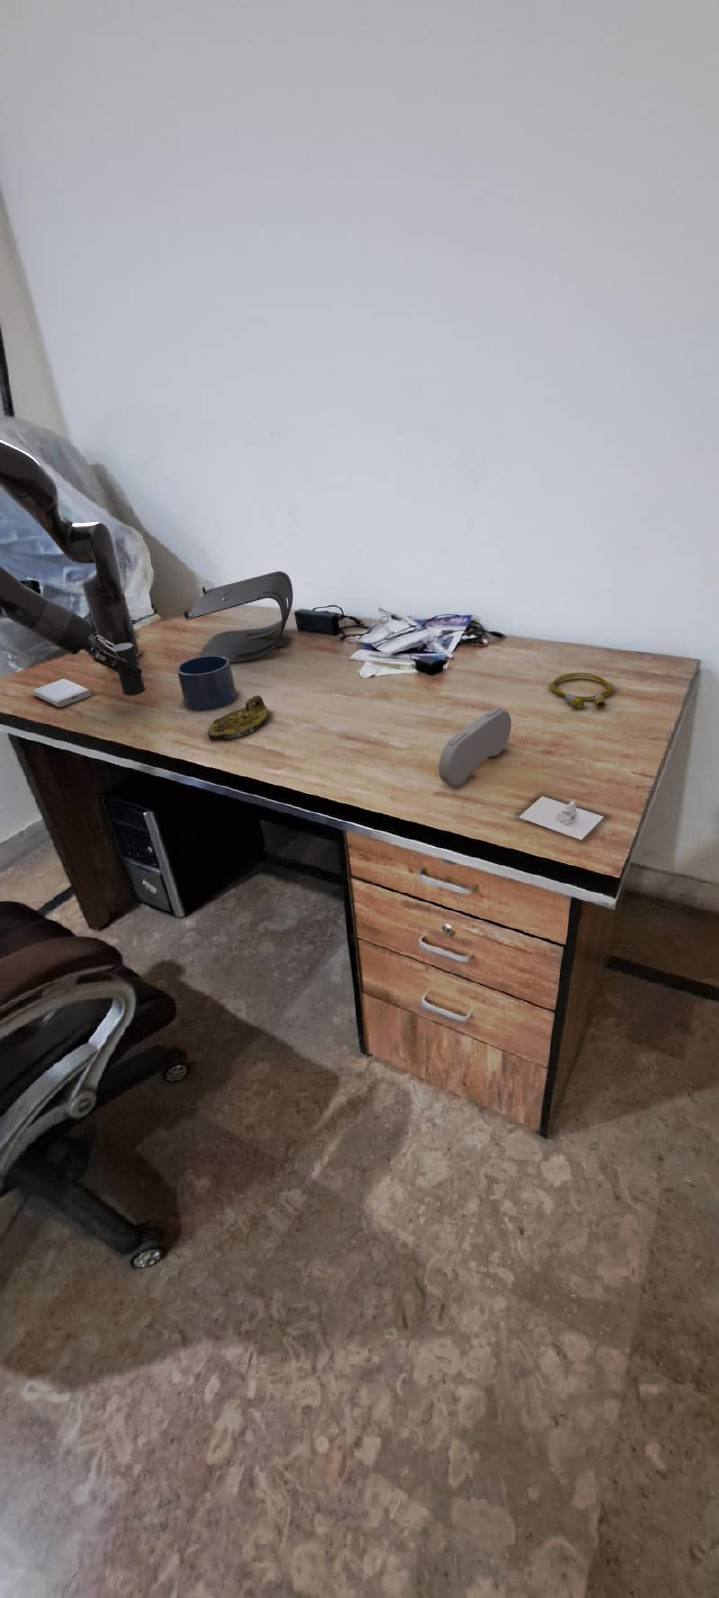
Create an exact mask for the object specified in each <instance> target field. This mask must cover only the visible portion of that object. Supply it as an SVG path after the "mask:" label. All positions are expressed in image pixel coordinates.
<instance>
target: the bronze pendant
mask: <svg viewBox="0 0 719 1598" xmlns="http://www.w3.org/2000/svg"><path fill="white" fill-rule="evenodd" d="M268 720H269V711H268V707H267V705H266V704H265V702H264V700H263V698H262V696H261V695H259V694H258V695H254V696H252V697H250V698H248V699H247V700H246V702H245V707H244V708H240V709H236V710H234V711H231V712H229V713H227V714H225V715H223V716H221V717H219V718H216V719H214V720H213V721H212V724H211V725H210V727H209V729H208V732H207V733H208V738H209V739H210V740H214V739H223V740H233V739H238V738H241V737H245V736H247V735H250V734H252V733H253V732H255V731H256V730H257V729H259V728H260V727H262V726H263V725H264V724H265V723H266V722H267V721H268Z"/></svg>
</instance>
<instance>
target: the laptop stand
mask: <svg viewBox="0 0 719 1598" xmlns="http://www.w3.org/2000/svg"><path fill="white" fill-rule="evenodd" d="M293 590H294V589H293V583H292V581H291V578H290V576H289V575H288V574H287V573H286V572H284V571H282V570H281V571H280V570H279V571H278V570H277V571H273V572H270V573H266V574H263V575H258V576H255V577H251V578H246V579H242V580H239V581H235V582H231V583H228V584H224V585H219V586H217V587H212V588H209V589H206V587H205V586H202V588H201V591H202V593H203V594H202V595H201V596H200V598H199V599H198V601H197V602H196V604H194V606H193V607H192V608H191V610H190V612H189V613H188V610H187V609H185V610H184V611H183V616H184V618H185V620H186V621H189V620H192V619H196V618H200V617H203V616H206V615H210V614H214V613H217V612H222V611H225V610H229V609H231V608H232V609H233V608H236V607H239V606H244V605H247V604H250V603H254V602H258V601H261V600H265V599H271V600H273V601H275V602H276V603H277V605H278V606H279V610H280V614H281V620H280V621H277V622H276V623H275V624H274V623H273V624H272V625H269V626H266V627H261V628H255V629H244V630H233V631H224V632H221V633H218V634H217V635H215V636H214V637H213V638H212V639H211V640H210V642H209V643H208V644H207V645H206V647H205V649H204V651H203V653H202V656H210V655H218V656H224V657H226V658H228V659H229V660H230V664H239V663H240V664H241V663H246V662H250V661H255V660H257V659H260V658H263V657H265V656H266V655H269V654H270V653H272V652H273V651H274V650H275V649H282V648H286V647H288V646H289V644H290V637H288V636H287V637H283V635H284V631H285V628H286V625H287V622H288V619H289V616H290V613H291V610H292V606H293V602H294V591H293ZM278 631H279V633H278V635H277V636H276V637H269V636H272V635H273V634H275V633H277V632H278ZM266 637H269V638H266Z"/></svg>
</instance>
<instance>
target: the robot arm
mask: <svg viewBox="0 0 719 1598" xmlns="http://www.w3.org/2000/svg"><path fill="white" fill-rule="evenodd" d="M0 488H1V489H2V490H3V492H5V493H6V495H7V496H9V497H10V498H11V499H12V500H13V501H14V502H15V503H16V504H17V505H18V506H19V507H20V508H21V509H23V511H25V512H26V513H27V514H28V515H29V516H30V517H31V518H32V520H34V521H35V522H36V523H37V524H38V525H39V526H40V528H41V529H42V530H44V531H45V533H46V534H47V535H48V536H49V537H50V539H51V540H52V541H53V542H54V544H55V545H56V546H57V547H58V548H59V549H60V551H61V552H62V553H63V554H64V555H65V556H66V557H67V558H68V559H69V560H70V561H71V562H73V563H76V564H79V565H92V564H94V565H95V566H94V567H95V574H94V575H93V576H91V577H89V578H87V579H85V580H83V582H82V585H81V586H82V589H83V593H84V596H85V597H84V598H85V600H86V603H87V605H88V609H89V613H90V616H91V619H92V622H91V621H89V620H87V619H86V618H84V617H82V616H81V615H79V614H77V613H76V612H74V611H72V610H71V609H68V608H67V607H65V606H63V605H62V604H60V603H58V602H56V601H53V600H51V599H49V598H47V597H45V596H44V595H42V594H40V593H38V592H37V591H35V590H33V589H32V588H30V587H28V586H26V585H25V584H23V583H22V582H21V581H20V580H19V579H18V578H16V577H15V576H14V575H13V574H12V573H11V572H9V571H8V570H7V569H5V568H4V567H3V566H1V565H0V609H1V611H2V613H3V615H4V616H5V617H6V618H7V619H9V620H11V621H12V622H13V623H16V624H17V625H19V626H21V627H22V628H25V629H26V630H29V631H30V632H32V633H33V634H35V635H36V636H38V637H39V638H41V639H43V640H44V641H46V642H48V643H50V644H52V645H54V646H56V647H57V648H59V649H60V650H63V651H65V652H67V653H68V654H70V655H72V656H76V655H77V654H79V653H80V652H81V650H84V651H85V652H86V653H87V655H88V656H89V657H90V658H92V660H93V662H95V663H98V664H100V665H102V666H104V667H106V668H109V669H110V670H113V671H115V672H116V673H117V672H120V671H121V670H122V671H123V672H125V673H127V674H129V675H131V676H132V677H134V678H136V679H138V678H139V677H140V675H142V674H143V669H142V668H141V667H140V666H139V667H137V666H135V665H133V664H132V663H130V662H128V661H126V659H124V658H122V657H121V656H119V655H118V653H117V651H116V650H114V649H113V648H112V647H113V646H115V645H118V644H122V643H131V644H133V646H134V649H135V653H136V657H137V658H138V657H139V656H140V655H141V649H140V646H139V643H138V639H137V636H136V632H135V628H134V623H135V622H137V621H138V620H132V617H131V612H130V610H129V606H128V602H127V598H126V594H125V591H124V588H123V584H122V572H121V566H120V563H119V557H118V554H117V548H116V544H115V540H114V537H113V535H112V531H110V529H109V527H108V526H107V525H106V524H105V523H103V522H99V521H95V522H75V521H72V520H71V519H69V518H68V517H67V516H66V514H65V513H64V512H62V510H61V505H60V504H61V502H60V492H59V488H58V486H57V483H56V482H55V479H54V478H52V476H51V475H50V474H49V473H48V472H47V470H45V468H44V467H43V466H42V465H41V464H40V462H38V461H37V460H36V459H35V458H34V457H33V456H31V455H30V454H29V453H27V452H25V451H23V450H21V449H19V448H17V447H15V446H13V445H11V444H9V443H7V442H5V441H3V440H1V439H0ZM151 602H152V606H151V607H153V608H154V609H153V610H154V612H155V613H156V612H158V605H157V604H156V603H155V602H154V601H151ZM92 623H93V624H92ZM93 627H94V629H95V631H93V633H92V630H93ZM114 661H118V663H117V665H116V664H115V663H114ZM138 664H139V665H140V663H139V662H138Z"/></svg>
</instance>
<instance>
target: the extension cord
mask: <svg viewBox="0 0 719 1598" xmlns="http://www.w3.org/2000/svg"><path fill="white" fill-rule="evenodd" d="M575 680H585V681H586V680H587V681H592V682H596V683H599V684H602V685H604V686H606V688H607V690H605V691H603V692H600V693H595V694H594V695H591V696H580V695H579V696H578V695H573V694H571V693H567V694H566V693H565V692H564V691H562V690H560V689H559V688H557V687H556V685H558V684H561V683H564V682H568V681H575ZM550 690H551V691H552V692H554V693H555V695H557V696H559V697H561V698H565V700H566V701H567V702H568V703H569V705H570V706H572V707H574V708H576V709H577V710H581V709H582V708H584V706H585V702H586V701H587V702H589V701H594V704H595V706H596V707H597V709H599V710H601V709H605V707H606V700H605V697H608V696H610V695H611V694H612V693H613V689H612V687H611V684H610V683H609V682H608V681H607V680H606V679H604V678H603V677H601V676H598V675H596V674H592V673H587V672H571V673H566V674H562V675H560V676H557V677H556V678H555V679H554V680H553V681H552V682H551V685H550Z"/></svg>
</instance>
